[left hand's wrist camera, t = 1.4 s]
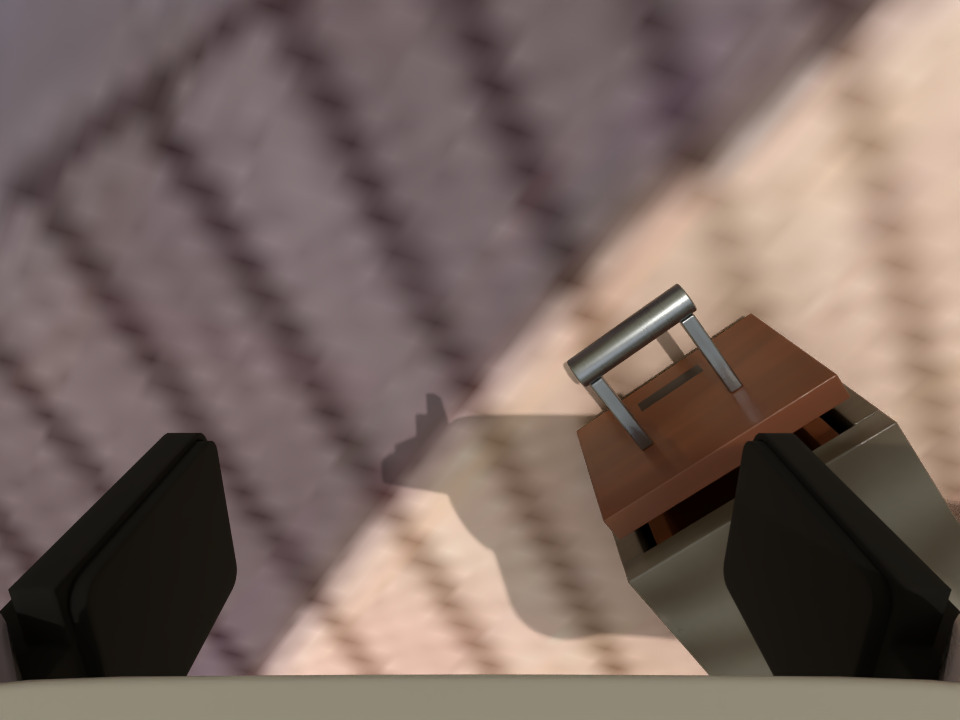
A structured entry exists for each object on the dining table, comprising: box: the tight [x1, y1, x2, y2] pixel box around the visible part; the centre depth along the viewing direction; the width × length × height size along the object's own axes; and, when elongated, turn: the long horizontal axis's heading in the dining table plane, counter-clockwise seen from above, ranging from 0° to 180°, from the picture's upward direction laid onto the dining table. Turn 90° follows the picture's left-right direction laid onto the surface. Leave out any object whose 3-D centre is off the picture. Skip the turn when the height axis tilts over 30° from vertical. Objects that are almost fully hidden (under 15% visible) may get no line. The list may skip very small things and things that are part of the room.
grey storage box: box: [612, 383, 960, 676], centre depth 31 cm, size 21×12×10 cm, turn 38°
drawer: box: [567, 284, 850, 545], centre depth 30 cm, size 25×10×8 cm, turn 38°
